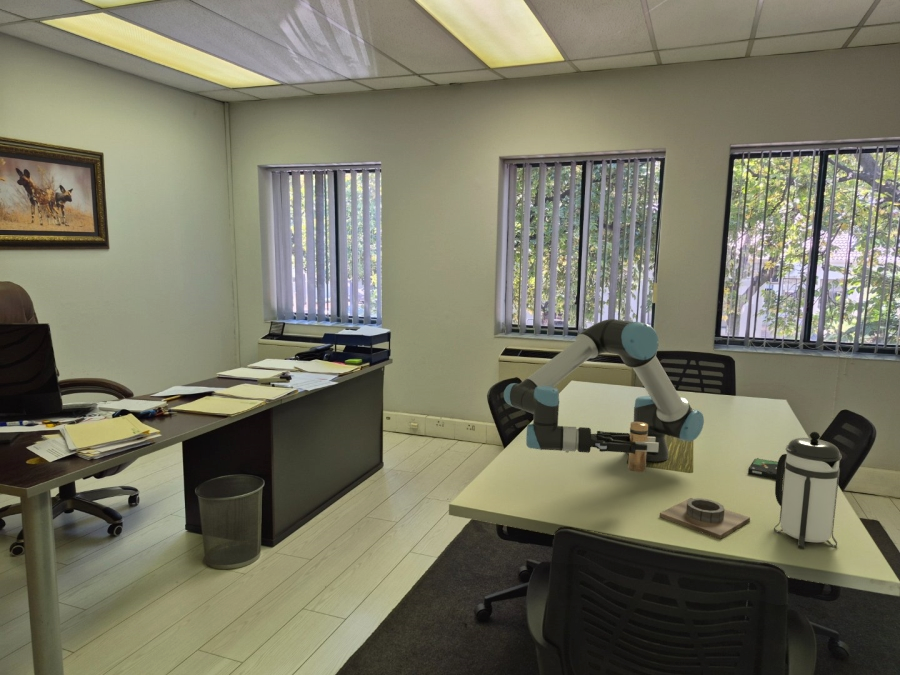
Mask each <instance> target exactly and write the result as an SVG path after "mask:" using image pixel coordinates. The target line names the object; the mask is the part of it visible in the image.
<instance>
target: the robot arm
mask: <svg viewBox="0 0 900 675" xmlns="http://www.w3.org/2000/svg"><path fill="white" fill-rule="evenodd" d="M658 341H659V336H658V334H657V331H656V329H654V328H653V327H652V326H651V325H649V324H647V323H643V322H640V321H629V320H621V319H615V318H609V319H605V320H601V321H599V322H596V323H595V324H593V325H591V326H589V327H588V328H586V329H584V330H583V331H582V332H581V333H579V334H578V335H577V336H576V338H575V340H574V341H573V342H572V343H571V344H569V345H568V346H567V347H566V348H564V349H563V350H562V351H561V352H559V353H558V354H556V355H555V356H554V357H552V358H551V359H550V360H548V362H546V363H545V364H544V365H542V366H541V367H540V368H538V369H537V370H535V372H533V373H532V374H531V375H529V376H528V377H527V378H525V379H524V380H523V381H521V382H520V383H517V382H516V383H515V382H514V383H510V384H508V385H507V386H506V387H505V389H504V391H503V399H504V401H505V403H506V404H507V405H509V406H511V407H513V408H514V409H518V410H522V411H524V412H527V413H530V414H532V415H533V416H532V417H533V423H530V424H529V423H528V424H527V426H526V438H525V439H526V441H525V443H526V446H527V448H529V449H535V450H540V451H543V450H544V451H560V452H563V451H564V452H565V453H569V452H574V453H575V452H576V451H577V452H578V453H590V452H591V448H595V449H598V450H599V452H600V453H601V452H612V453H626V454H627V455H628V456H629V453H633V454H635V451H647V452H646V462H664V461H666V460H668V459H669V457H670V456H669V455H670V454H669V453H670V451H669V448H668V444H667V441H666V436H669V437H672V438H675V439H678V440H680V441H683V442H693V441H695V440H696V439H697V438H698V437H699V436H700V434H701V433H702V431H703V428H704V423H705V419H704V414H703V413H702V411H700V410H698V409H693V408H692V407H691V405H690V403H689V401H688V400H687V399H686V398H685V397H682V396H680V395H679V393H678V391H677V390H676V388H675V387H674V384H673V383H672V381H671V380H670V378H669V376H668V375H667V373H666V371H665V369H664V367H663V366H662V364H661V363H660V360H659V359H658V357H657V352H658V349H659V348H658V347H659V343H658ZM601 354H612V355H618V356H619V357H620V358H621V360H622V362H623V363H624V365H625V367H628V368H630V369H631V368H632V369H633V371H634V372H635V374H636V376H637V378H638V379H639V381H640V382H641V384H642V386H643V387H644V388H645V391H646V392H647V393H648V395H643V396H638V397H637V398H636V399H635V401H634V407H633V422H643V423H647V424H648V435H647V442H640V441H635V442H630V432H614V431H602V430H597V431H596V433H592V430H591V428H590V427H583V426H582V427H581V426H579V427H578V428H577V426H567V425H559V412H560V410H559V409H560V408H559V407H560V395H559V394H560V391H559V389H558V388H557V387H555V386H556V385H558V384H559V383H560V382H561V381H562V380H564V379H565V378H566V377H567V376H569V375H570V374H571V373H573V372H574V371H575V370H576V369H578V368H580V366H581V365H583V364H584V363H586V362H587V361H588V360H589V359H594V358H596V357H598V356H600V355H601Z"/></svg>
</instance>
